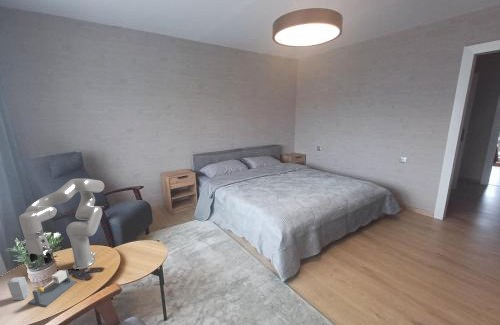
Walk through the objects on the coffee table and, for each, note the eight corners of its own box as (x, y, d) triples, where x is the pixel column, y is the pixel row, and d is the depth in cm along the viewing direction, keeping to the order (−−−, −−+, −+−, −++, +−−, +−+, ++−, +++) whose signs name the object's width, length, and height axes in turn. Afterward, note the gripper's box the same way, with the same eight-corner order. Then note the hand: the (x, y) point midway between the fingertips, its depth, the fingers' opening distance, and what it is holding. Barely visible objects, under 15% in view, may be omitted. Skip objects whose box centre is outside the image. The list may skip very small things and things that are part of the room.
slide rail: (60, 280, 140) (57, 268, 138) (76, 282, 138) (74, 270, 136) (28, 303, 123) (25, 290, 121) (46, 306, 121) (43, 293, 119)
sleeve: (61, 276, 137) (59, 270, 136) (67, 277, 136) (65, 270, 135) (52, 282, 132) (51, 275, 131) (59, 283, 131) (57, 276, 130)
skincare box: (30, 293, 130) (26, 275, 127) (23, 300, 125) (18, 281, 123) (19, 294, 129) (14, 276, 126) (12, 301, 125) (6, 282, 122)
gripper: (54, 231, 123) (60, 258, 127) (28, 229, 126) (36, 255, 130) (39, 239, 115) (47, 267, 119) (13, 236, 118) (21, 264, 123)
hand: (41, 261), depth 125 cm, fingers open, 9 cm apart
